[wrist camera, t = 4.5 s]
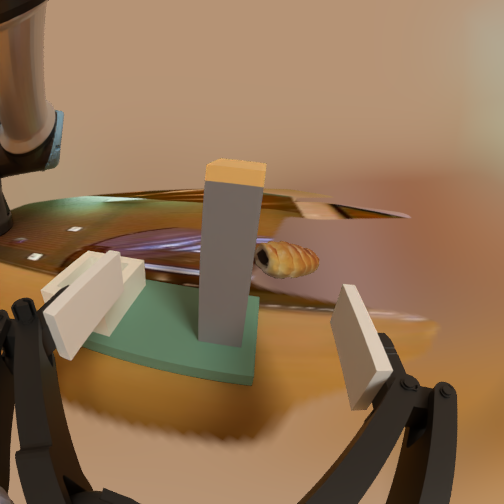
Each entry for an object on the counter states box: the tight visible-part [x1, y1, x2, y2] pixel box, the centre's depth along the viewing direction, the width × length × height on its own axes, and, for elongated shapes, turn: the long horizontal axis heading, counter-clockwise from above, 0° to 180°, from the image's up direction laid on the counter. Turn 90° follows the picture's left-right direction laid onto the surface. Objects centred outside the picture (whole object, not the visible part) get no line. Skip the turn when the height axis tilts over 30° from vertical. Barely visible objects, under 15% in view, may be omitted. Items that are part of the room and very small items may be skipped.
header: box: [41, 251, 146, 337], centre depth 23 cm, size 7×9×3 cm
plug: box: [198, 158, 266, 348], centre depth 21 cm, size 4×5×14 cm
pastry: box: [254, 241, 319, 279], centre depth 38 cm, size 9×7×4 cm
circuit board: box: [82, 279, 259, 386], centre depth 24 cm, size 20×11×1 cm, turn 87°
